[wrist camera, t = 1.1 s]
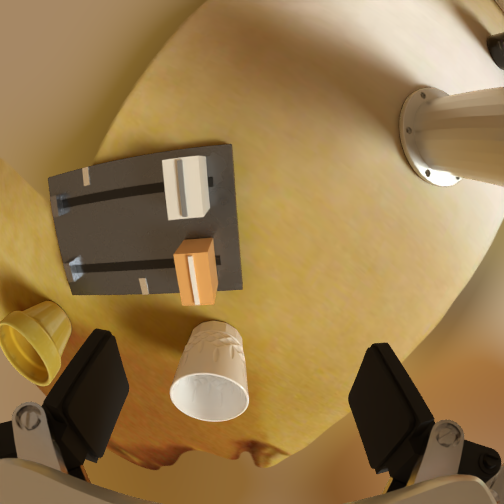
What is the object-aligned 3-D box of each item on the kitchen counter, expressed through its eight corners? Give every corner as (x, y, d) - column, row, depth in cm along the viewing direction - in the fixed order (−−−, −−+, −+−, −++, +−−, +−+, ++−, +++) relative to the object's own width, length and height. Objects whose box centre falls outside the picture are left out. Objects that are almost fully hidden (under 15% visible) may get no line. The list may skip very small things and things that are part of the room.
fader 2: (213, 237, 27) (207, 253, 22) (218, 283, 29) (214, 305, 24) (183, 239, 27) (172, 255, 22) (190, 284, 29) (181, 307, 24)
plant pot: (36, 334, 33) (6, 368, 24) (27, 280, 30) (-12, 310, 21) (84, 355, 34) (58, 397, 25) (79, 301, 31) (41, 341, 22)
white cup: (174, 344, 33) (156, 400, 24) (207, 304, 31) (195, 360, 22) (223, 372, 35) (219, 429, 25) (259, 337, 33) (265, 396, 24)
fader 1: (205, 156, 24) (197, 155, 20) (210, 207, 26) (203, 217, 22) (175, 160, 24) (161, 160, 20) (180, 210, 26) (167, 221, 21)
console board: (232, 145, 26) (231, 143, 23) (242, 283, 31) (242, 294, 28) (54, 176, 26) (42, 178, 23) (77, 289, 30) (68, 299, 28)
